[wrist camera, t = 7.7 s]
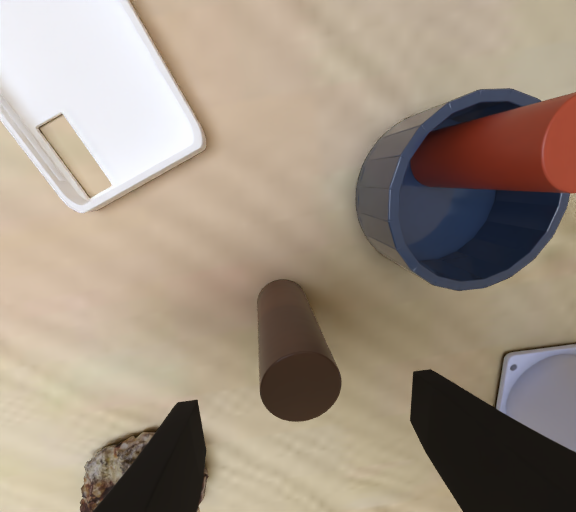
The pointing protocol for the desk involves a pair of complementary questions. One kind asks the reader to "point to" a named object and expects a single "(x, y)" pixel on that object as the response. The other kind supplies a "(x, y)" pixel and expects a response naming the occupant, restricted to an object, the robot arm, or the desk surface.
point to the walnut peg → (293, 355)
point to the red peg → (505, 150)
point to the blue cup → (451, 206)
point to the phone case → (92, 94)
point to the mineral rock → (114, 470)
